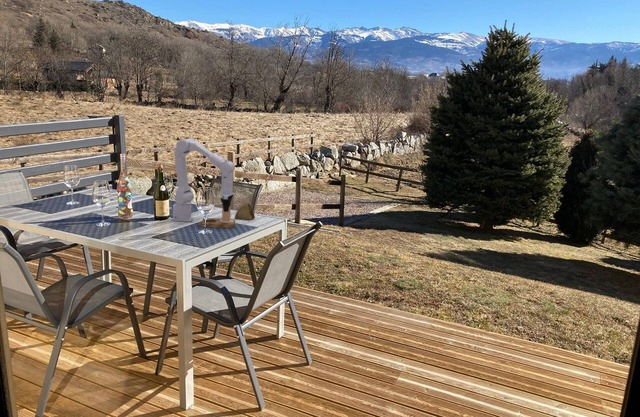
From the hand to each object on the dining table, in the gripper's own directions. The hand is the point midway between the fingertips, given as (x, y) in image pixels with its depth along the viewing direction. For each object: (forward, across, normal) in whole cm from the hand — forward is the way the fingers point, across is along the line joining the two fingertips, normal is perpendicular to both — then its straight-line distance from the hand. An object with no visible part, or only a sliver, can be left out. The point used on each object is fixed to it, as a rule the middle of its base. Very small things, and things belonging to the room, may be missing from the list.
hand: (226, 210), depth 250 cm
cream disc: (+6, 0, 0) cm, 6 cm away
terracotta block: (+6, 0, 0) cm, 6 cm away
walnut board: (+8, 0, +4) cm, 9 cm away
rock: (+8, +15, -9) cm, 19 cm away
